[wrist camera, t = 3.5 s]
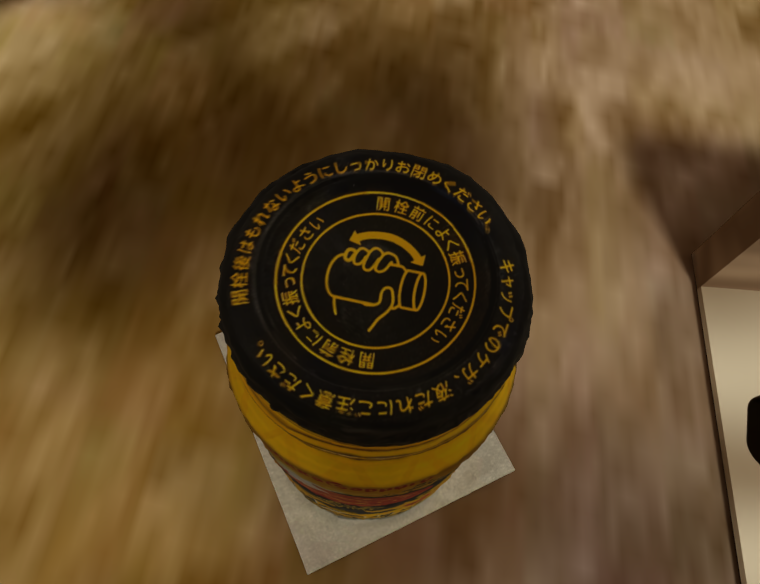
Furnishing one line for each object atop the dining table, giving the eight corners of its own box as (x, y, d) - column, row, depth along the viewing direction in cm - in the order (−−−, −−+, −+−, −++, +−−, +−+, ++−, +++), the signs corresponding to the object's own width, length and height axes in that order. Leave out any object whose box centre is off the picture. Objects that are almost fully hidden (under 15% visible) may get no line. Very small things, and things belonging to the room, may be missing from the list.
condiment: (308, 575, 19) (245, 583, 8) (216, 336, 22) (78, 104, 11) (513, 471, 20) (698, 358, 10) (401, 261, 23) (442, -9, 12)
